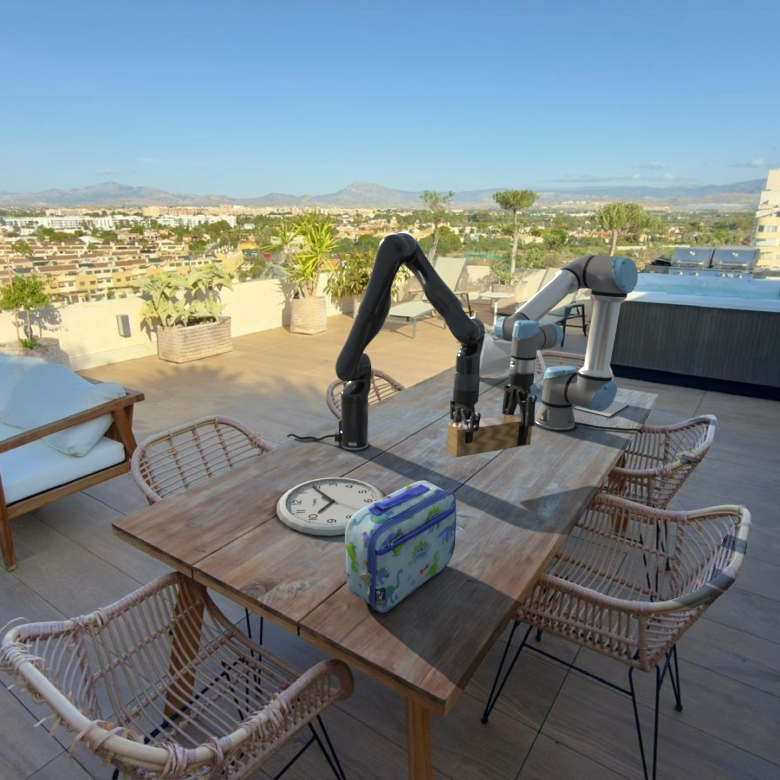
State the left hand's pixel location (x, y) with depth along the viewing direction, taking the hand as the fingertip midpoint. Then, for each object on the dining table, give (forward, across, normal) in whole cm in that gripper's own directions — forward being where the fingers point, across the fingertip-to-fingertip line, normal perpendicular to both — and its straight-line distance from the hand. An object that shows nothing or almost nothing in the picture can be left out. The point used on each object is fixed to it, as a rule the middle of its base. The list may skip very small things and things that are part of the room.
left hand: (462, 438), depth 159 cm
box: (+4, 0, +10) cm, 11 cm away
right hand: (+4, 0, +20) cm, 20 cm away
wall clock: (+12, +4, -43) cm, 44 cm away
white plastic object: (+12, -79, +71) cm, 106 cm away
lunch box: (+12, +41, -38) cm, 57 cm away
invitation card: (+12, -34, +90) cm, 97 cm away
